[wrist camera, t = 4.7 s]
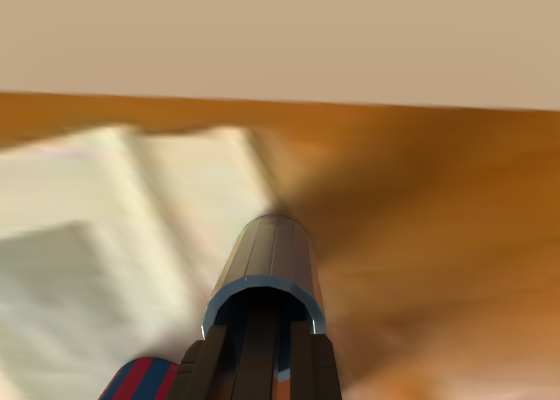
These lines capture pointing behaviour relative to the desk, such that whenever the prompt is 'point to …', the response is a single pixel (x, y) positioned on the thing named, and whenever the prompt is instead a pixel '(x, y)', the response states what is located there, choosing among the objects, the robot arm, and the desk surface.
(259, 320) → the chopstick
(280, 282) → the holder
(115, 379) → the mug
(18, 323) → the desk surface
